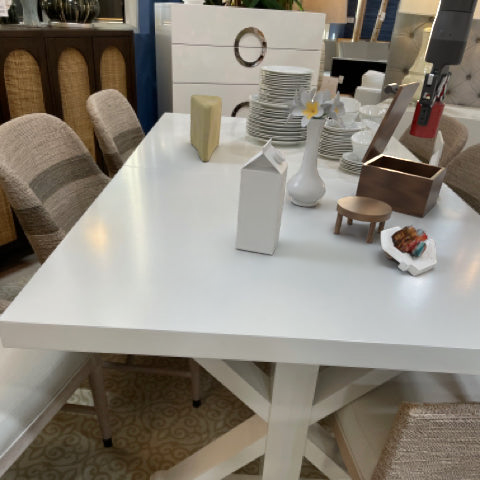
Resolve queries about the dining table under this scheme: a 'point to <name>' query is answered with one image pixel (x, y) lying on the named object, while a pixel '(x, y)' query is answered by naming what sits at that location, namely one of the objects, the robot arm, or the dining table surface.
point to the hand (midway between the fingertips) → (425, 123)
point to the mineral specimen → (409, 249)
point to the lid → (391, 118)
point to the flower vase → (311, 142)
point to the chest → (401, 184)
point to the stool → (363, 213)
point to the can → (433, 123)
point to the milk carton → (261, 201)
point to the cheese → (205, 124)
